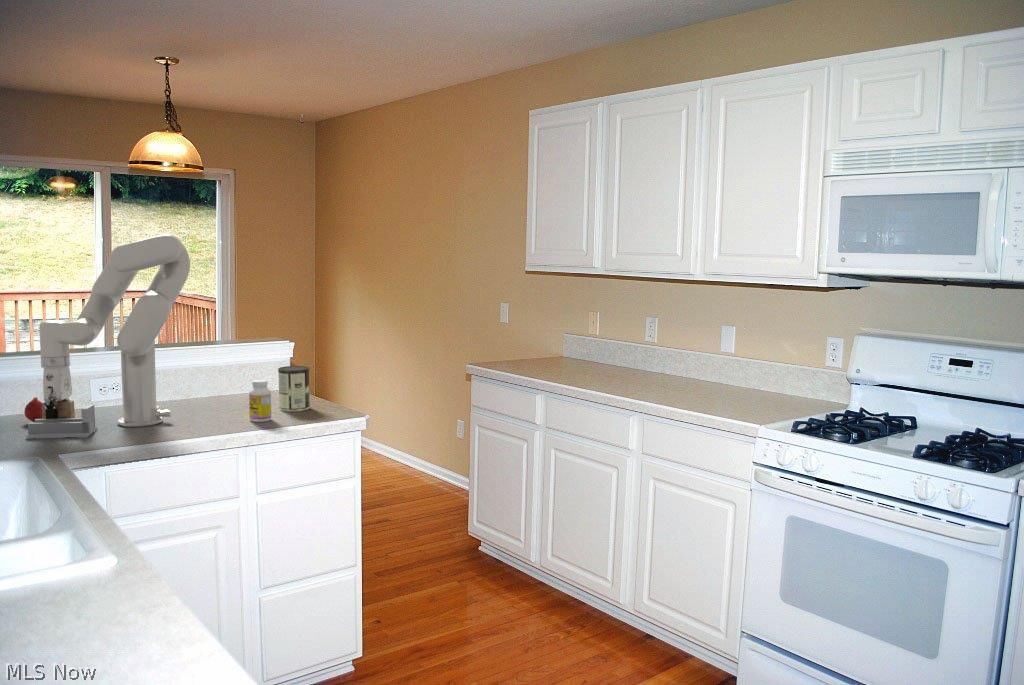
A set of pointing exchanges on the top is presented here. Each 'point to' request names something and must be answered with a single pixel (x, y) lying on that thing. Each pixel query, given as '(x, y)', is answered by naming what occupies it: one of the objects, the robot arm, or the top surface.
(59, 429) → the track
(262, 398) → the supplement bottle
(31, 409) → the onion
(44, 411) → the door slab
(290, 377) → the coffee can
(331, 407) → the top surface
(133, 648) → the top surface
